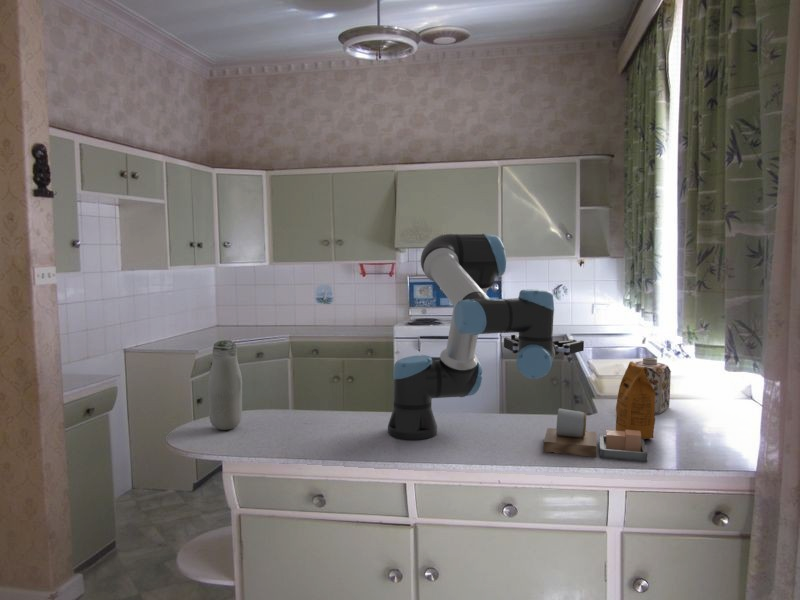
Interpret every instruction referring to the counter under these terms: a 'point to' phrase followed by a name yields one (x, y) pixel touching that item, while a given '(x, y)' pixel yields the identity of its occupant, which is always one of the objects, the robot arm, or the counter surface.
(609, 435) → the salmon pink block
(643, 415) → the coffee package
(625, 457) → the tray
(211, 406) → the glass bottle
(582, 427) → the ceramic mug
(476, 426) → the counter surface
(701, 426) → the counter surface
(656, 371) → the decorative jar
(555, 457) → the counter surface
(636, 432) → the salmon orange block
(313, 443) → the counter surface
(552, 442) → the board
